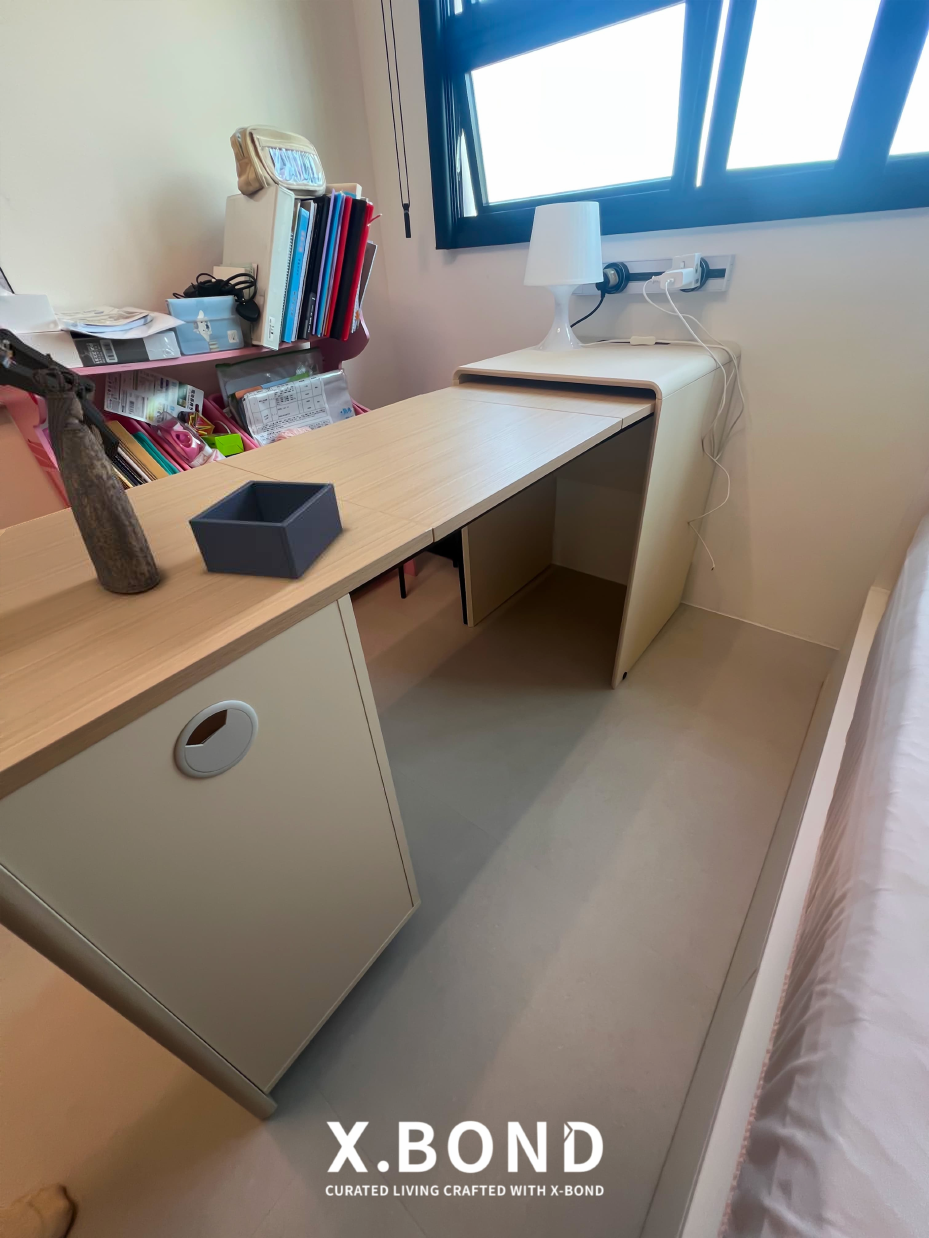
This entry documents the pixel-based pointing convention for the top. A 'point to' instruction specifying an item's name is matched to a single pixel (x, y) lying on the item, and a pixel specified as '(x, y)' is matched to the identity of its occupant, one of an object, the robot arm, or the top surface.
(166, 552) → the top surface
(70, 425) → the statue
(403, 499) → the top surface
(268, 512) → the bin
